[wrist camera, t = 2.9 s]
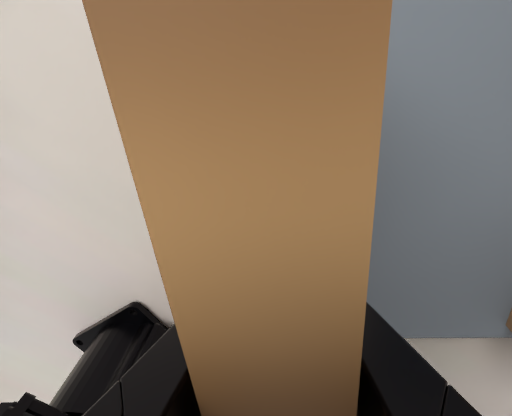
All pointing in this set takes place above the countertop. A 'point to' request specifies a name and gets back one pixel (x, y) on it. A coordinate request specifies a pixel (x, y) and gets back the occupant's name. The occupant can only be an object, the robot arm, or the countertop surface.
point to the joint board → (445, 172)
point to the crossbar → (255, 184)
